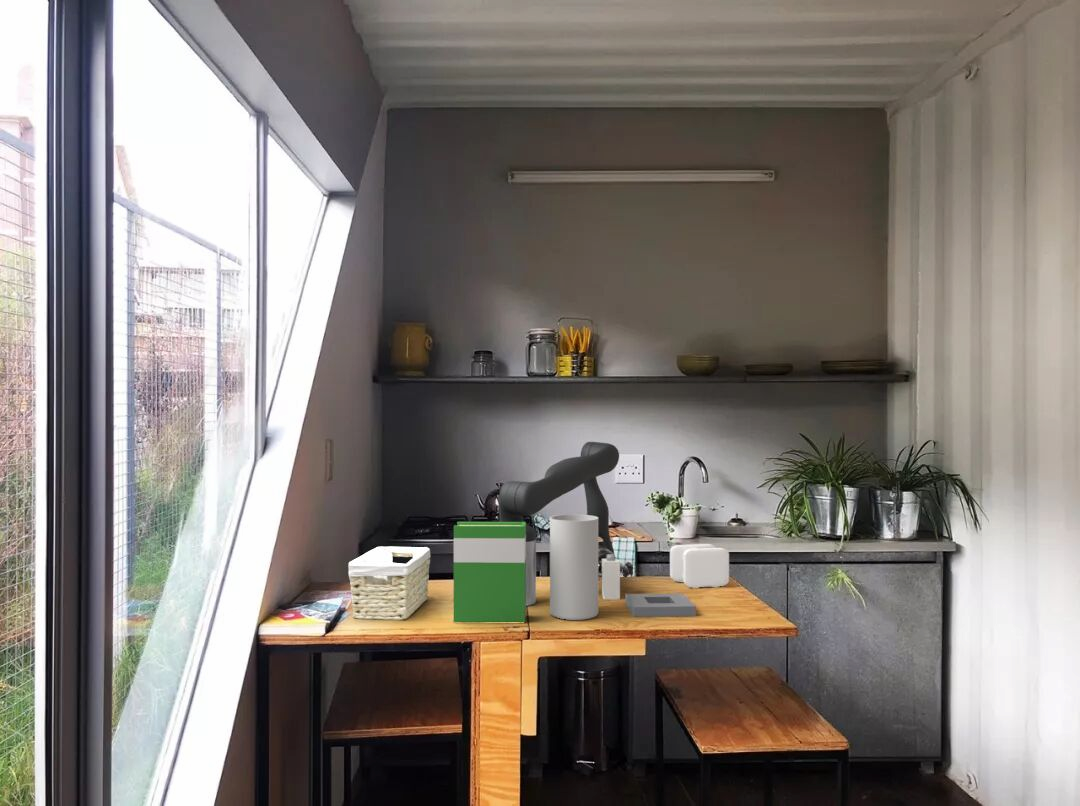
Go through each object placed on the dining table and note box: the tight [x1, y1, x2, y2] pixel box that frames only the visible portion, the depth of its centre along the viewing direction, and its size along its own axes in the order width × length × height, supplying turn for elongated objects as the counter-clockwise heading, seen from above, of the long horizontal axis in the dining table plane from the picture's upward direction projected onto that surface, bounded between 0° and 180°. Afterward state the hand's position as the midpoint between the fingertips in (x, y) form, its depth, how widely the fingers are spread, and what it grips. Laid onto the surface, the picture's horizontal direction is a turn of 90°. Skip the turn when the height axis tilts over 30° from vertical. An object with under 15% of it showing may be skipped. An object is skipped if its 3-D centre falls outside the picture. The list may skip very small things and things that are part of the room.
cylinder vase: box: [549, 514, 599, 621], centre depth 197 cm, size 12×12×25 cm
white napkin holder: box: [669, 543, 730, 589], centre depth 232 cm, size 15×11×12 cm
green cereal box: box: [453, 521, 527, 623], centre depth 193 cm, size 18×7×24 cm, turn 88°
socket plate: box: [624, 593, 697, 618], centre depth 202 cm, size 16×14×2 cm
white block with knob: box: [601, 553, 621, 600], centre depth 215 cm, size 4×4×12 cm
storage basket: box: [347, 546, 432, 621], centre depth 202 cm, size 24×16×15 cm
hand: (611, 573), depth 213 cm, fingers open, 7 cm apart
